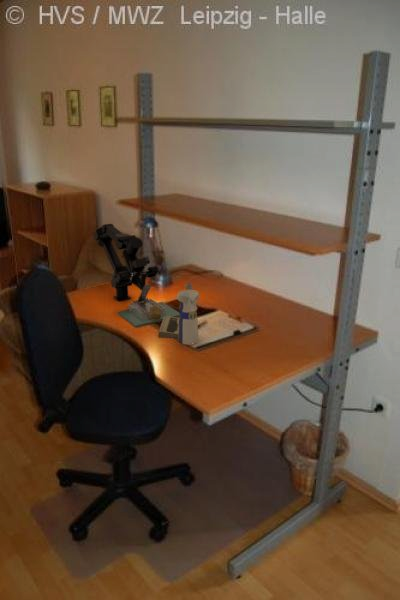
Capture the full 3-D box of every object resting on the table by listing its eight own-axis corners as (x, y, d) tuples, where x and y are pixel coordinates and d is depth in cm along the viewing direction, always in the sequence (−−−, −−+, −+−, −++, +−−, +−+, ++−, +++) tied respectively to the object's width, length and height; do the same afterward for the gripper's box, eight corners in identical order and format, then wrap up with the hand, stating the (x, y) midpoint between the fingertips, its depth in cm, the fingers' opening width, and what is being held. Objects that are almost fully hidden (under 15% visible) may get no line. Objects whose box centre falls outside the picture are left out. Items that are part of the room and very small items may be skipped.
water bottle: (204, 341, 180) (204, 279, 171) (185, 346, 175) (184, 283, 167) (193, 333, 186) (192, 273, 177) (174, 338, 182) (172, 277, 173)
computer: (178, 338, 183) (178, 331, 182) (158, 338, 183) (157, 330, 182) (182, 323, 198) (182, 315, 196) (163, 322, 198) (163, 315, 197)
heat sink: (129, 311, 206) (128, 299, 204) (151, 306, 212) (150, 294, 210) (144, 322, 194) (144, 310, 192) (168, 316, 200) (167, 304, 198)
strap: (138, 302, 206) (137, 300, 206) (144, 301, 208) (143, 299, 208) (144, 286, 197) (144, 285, 197) (151, 285, 198) (150, 284, 199)
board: (117, 313, 206) (117, 311, 206) (161, 303, 217) (161, 301, 217) (135, 327, 192) (135, 325, 192) (181, 316, 203) (181, 314, 203)
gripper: (116, 254, 195) (129, 286, 190) (156, 247, 205) (169, 278, 200) (110, 267, 204) (122, 298, 199) (148, 261, 214) (161, 290, 209)
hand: (144, 291), depth 202 cm, fingers closed, pressing on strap
